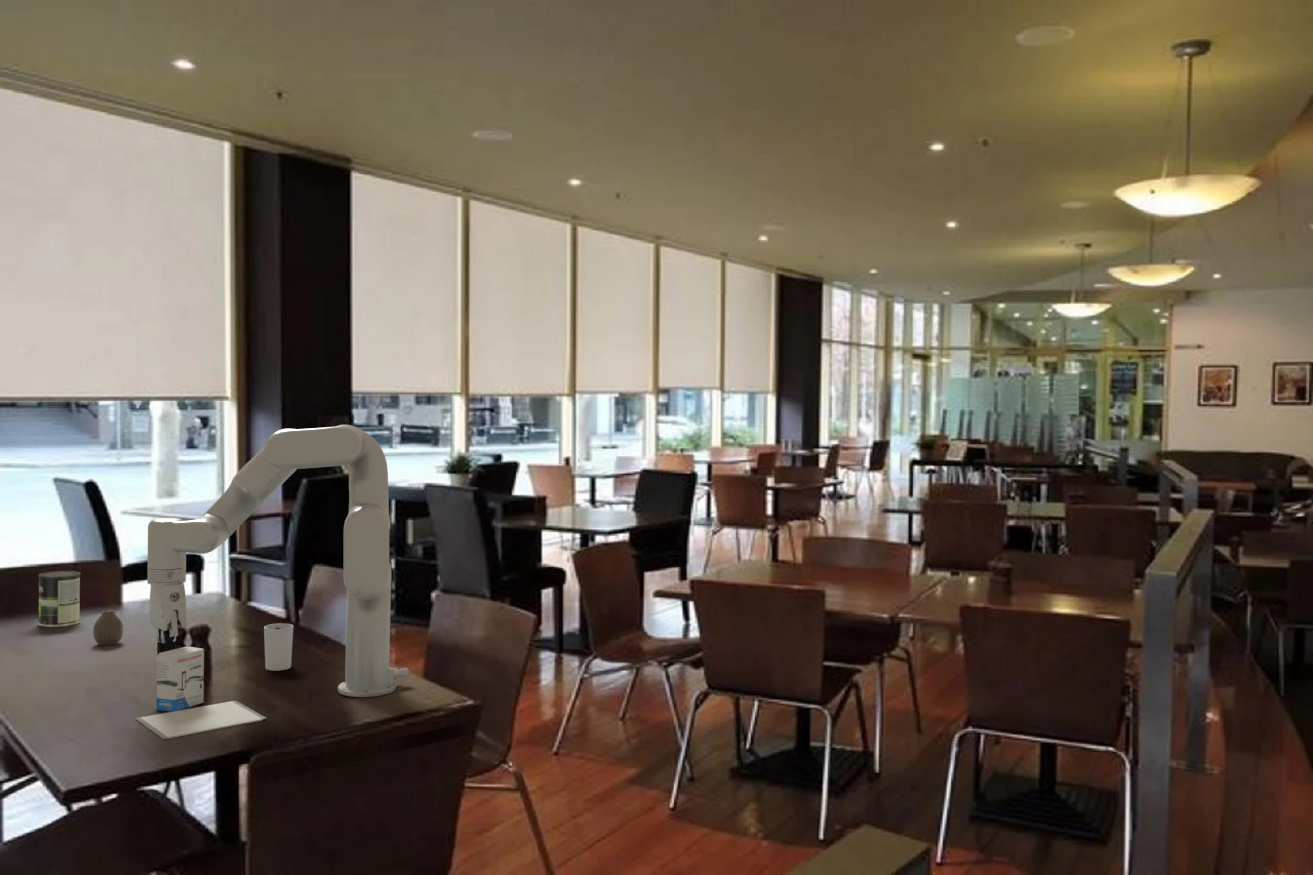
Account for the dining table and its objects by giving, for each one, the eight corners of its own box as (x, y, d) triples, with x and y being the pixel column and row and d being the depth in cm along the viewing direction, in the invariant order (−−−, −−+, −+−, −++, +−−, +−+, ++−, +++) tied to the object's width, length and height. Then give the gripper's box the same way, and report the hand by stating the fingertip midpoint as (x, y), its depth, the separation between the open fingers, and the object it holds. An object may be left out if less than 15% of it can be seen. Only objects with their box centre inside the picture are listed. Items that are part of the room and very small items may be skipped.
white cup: (257, 668, 254) (257, 627, 253) (279, 662, 260) (279, 622, 259) (277, 672, 251) (277, 630, 250) (298, 666, 256) (299, 625, 256)
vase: (107, 648, 270) (107, 614, 270) (86, 645, 272) (87, 612, 272) (129, 642, 276) (129, 609, 276) (108, 640, 279) (108, 607, 278)
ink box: (173, 713, 217) (174, 656, 217) (155, 710, 219) (155, 654, 218) (204, 702, 225) (205, 647, 225) (186, 699, 227) (187, 645, 227)
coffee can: (36, 628, 290) (36, 577, 290) (40, 621, 299) (40, 571, 299) (78, 625, 294) (79, 575, 294) (81, 618, 304) (81, 569, 303)
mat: (235, 701, 226) (235, 700, 226) (266, 719, 214) (266, 718, 214) (135, 719, 212) (135, 718, 212) (163, 739, 201) (163, 738, 201)
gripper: (197, 578, 225) (196, 664, 225) (172, 569, 236) (172, 651, 236) (160, 582, 219) (159, 669, 220) (136, 572, 230) (136, 656, 231)
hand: (166, 659), depth 228 cm, fingers closed
